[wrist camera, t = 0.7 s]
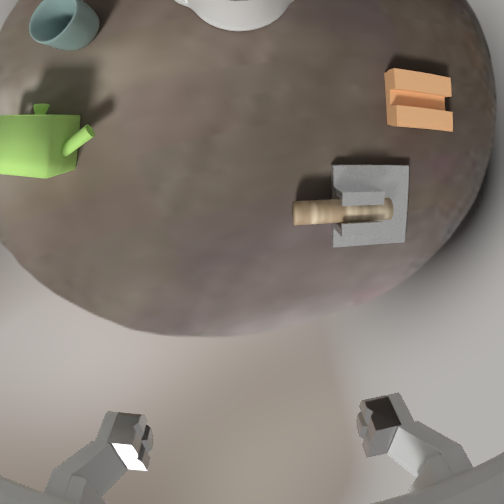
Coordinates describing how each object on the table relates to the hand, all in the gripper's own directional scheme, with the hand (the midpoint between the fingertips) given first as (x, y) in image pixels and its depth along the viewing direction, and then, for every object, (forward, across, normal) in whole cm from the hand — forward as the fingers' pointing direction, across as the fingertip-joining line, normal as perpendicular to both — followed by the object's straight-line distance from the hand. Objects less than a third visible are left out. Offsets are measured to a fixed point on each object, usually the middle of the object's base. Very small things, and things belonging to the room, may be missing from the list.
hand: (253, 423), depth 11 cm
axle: (+36, -14, +1) cm, 38 cm away
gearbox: (+38, +28, -14) cm, 49 cm away
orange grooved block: (+38, -26, -15) cm, 48 cm away
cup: (+38, +22, -30) cm, 53 cm away
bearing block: (+38, -16, +1) cm, 41 cm away
